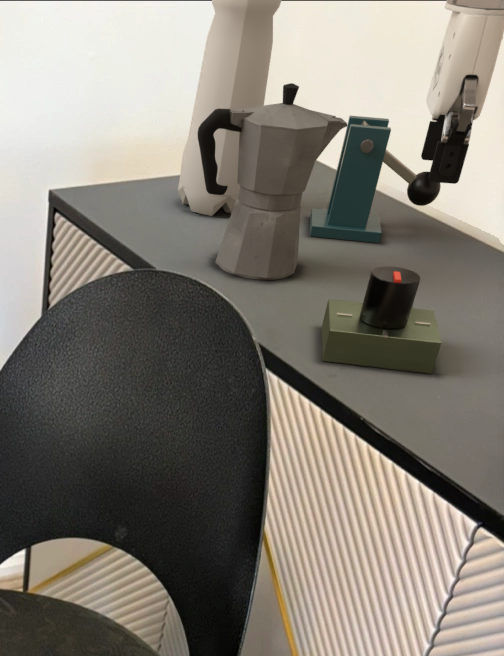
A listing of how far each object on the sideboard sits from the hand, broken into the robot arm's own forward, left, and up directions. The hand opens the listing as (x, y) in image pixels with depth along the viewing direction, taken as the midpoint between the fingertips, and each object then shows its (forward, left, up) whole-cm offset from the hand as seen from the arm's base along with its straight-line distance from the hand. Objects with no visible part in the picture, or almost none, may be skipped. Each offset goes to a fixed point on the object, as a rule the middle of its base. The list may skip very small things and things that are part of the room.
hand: (438, 170), depth 127 cm
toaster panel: (+7, +36, -8) cm, 37 cm away
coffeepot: (+20, +16, -8) cm, 26 cm away
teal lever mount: (+9, 0, -8) cm, 12 cm away
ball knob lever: (+6, 0, -2) cm, 6 cm away
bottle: (+25, -4, -8) cm, 26 cm away
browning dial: (+7, +36, -5) cm, 36 cm away
